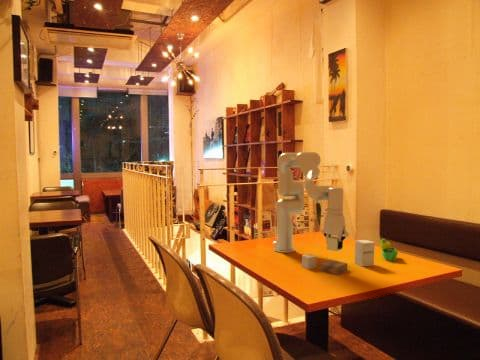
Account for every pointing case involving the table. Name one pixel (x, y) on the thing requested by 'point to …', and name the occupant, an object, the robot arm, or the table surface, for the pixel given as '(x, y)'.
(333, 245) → the beige block
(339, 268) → the walnut base
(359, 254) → the supplement box
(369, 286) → the table surface
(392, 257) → the fruit basket
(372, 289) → the table surface
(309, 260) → the grey block
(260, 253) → the table surface
